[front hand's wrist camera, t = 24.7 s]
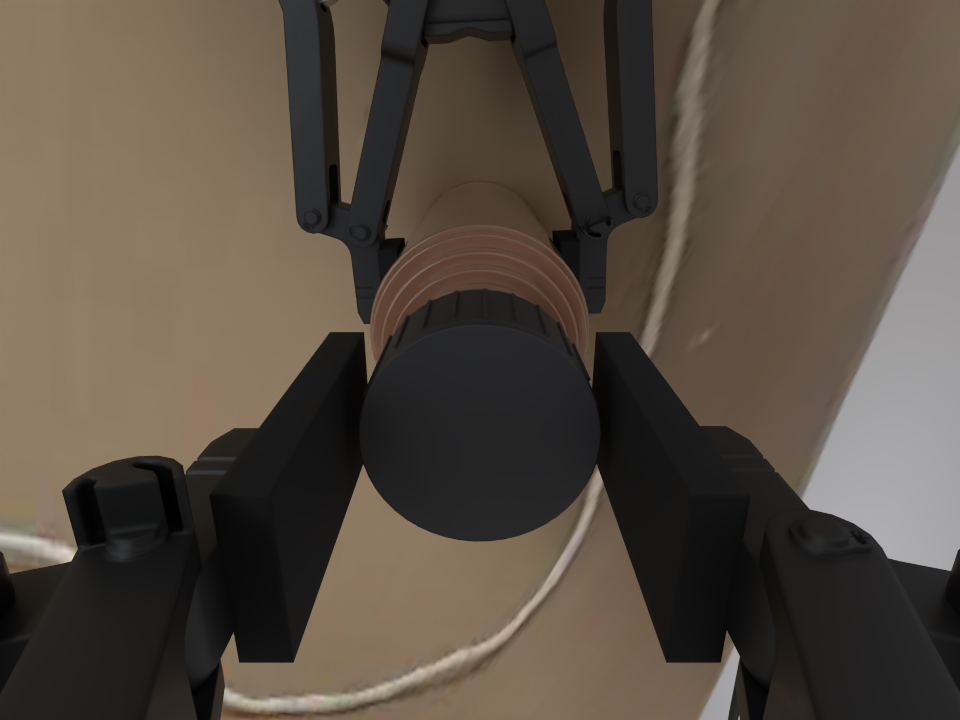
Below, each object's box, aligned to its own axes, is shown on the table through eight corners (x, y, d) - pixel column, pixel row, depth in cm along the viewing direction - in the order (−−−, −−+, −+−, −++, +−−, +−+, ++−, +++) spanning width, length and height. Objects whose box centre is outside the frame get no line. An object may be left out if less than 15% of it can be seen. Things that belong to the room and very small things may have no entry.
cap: (619, 339, 14) (650, 386, 11) (525, 503, 15) (534, 574, 13) (426, 250, 13) (413, 278, 11) (347, 430, 15) (319, 492, 12)
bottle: (517, 162, 30) (582, 217, 11) (558, 280, 32) (673, 502, 13) (398, 209, 31) (265, 337, 12) (445, 322, 33) (398, 587, 14)
